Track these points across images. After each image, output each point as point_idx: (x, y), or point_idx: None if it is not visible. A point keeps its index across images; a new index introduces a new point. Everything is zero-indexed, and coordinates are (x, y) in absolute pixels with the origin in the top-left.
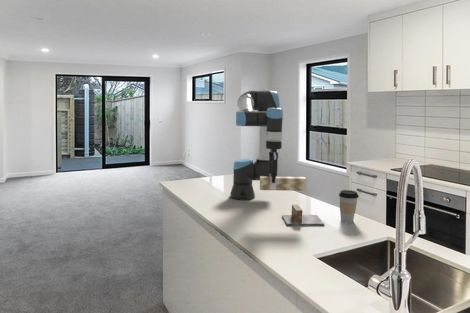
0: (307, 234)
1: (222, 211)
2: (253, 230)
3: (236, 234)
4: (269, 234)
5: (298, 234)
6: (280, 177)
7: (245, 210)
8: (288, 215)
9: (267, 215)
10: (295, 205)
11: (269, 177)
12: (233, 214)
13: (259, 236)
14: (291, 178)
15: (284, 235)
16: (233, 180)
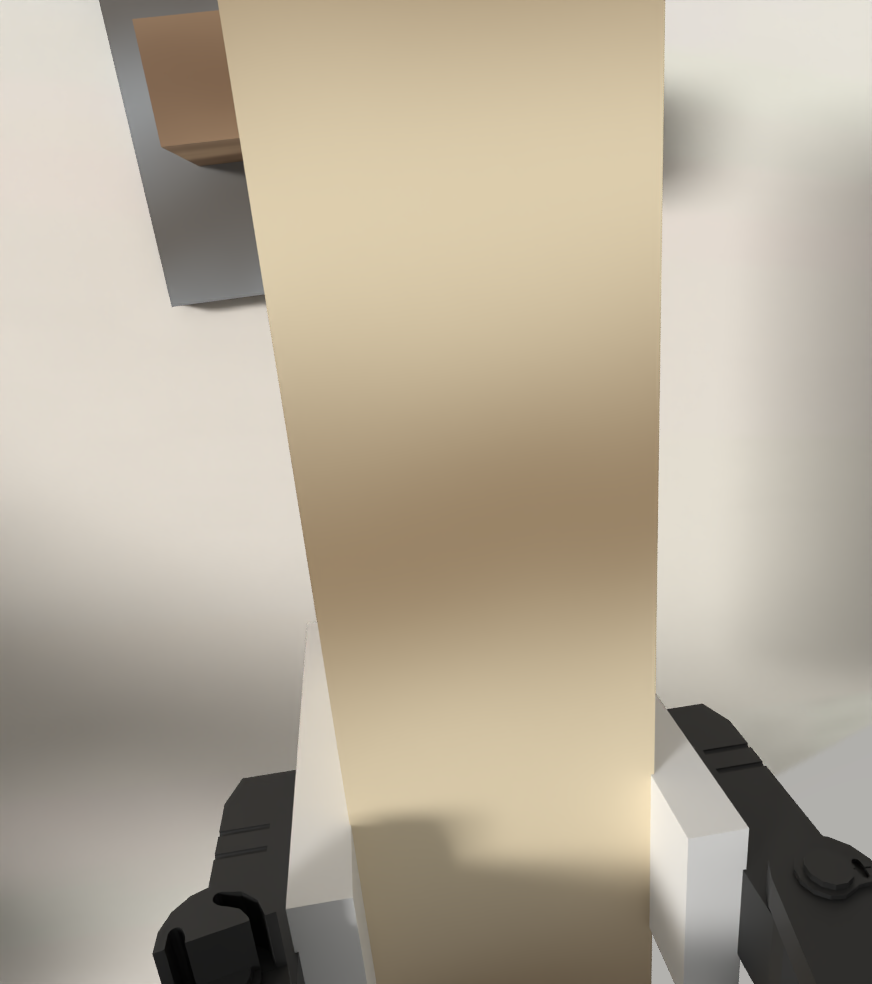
0: (829, 24)
1: (129, 940)
2: (691, 607)
3: (785, 727)
4: (802, 459)
5: (822, 143)
6: (503, 632)
7: (14, 745)
8: (177, 211)
9: (158, 491)
10: (203, 79)
11: (549, 959)
12: (211, 834)
13: (845, 546)
14: (660, 153)
15: (839, 309)
16: None
